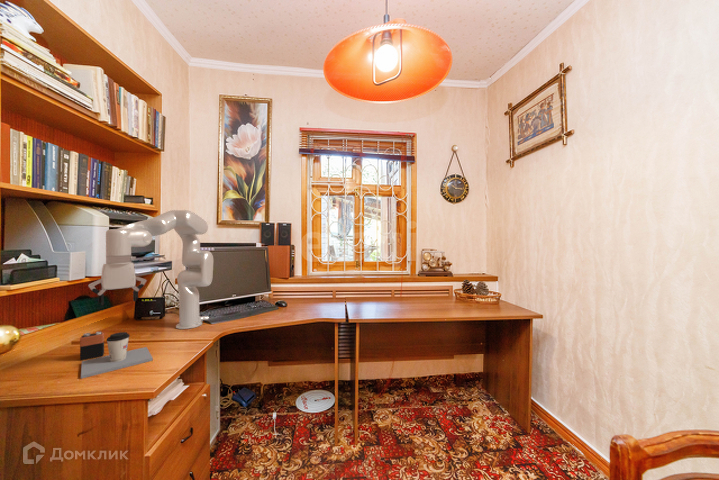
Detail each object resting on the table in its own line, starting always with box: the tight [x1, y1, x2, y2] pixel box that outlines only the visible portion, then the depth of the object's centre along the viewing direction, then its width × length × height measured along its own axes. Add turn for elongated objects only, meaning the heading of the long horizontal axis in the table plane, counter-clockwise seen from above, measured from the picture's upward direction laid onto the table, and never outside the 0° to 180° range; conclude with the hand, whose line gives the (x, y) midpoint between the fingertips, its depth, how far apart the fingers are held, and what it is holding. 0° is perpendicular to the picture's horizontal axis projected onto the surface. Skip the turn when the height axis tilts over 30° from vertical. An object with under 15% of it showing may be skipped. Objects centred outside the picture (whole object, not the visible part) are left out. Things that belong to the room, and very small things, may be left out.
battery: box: [79, 331, 105, 361], centre depth 111 cm, size 4×7×10 cm, turn 130°
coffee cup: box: [106, 331, 130, 362], centre depth 107 cm, size 7×7×10 cm
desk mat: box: [80, 346, 154, 379], centre depth 106 cm, size 20×16×1 cm
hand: (119, 302), depth 107 cm, fingers open, 9 cm apart
